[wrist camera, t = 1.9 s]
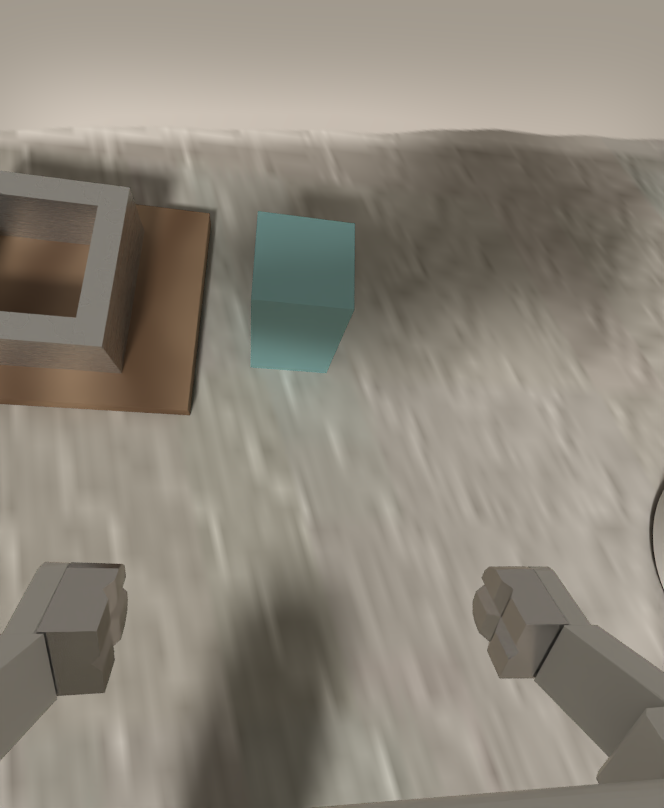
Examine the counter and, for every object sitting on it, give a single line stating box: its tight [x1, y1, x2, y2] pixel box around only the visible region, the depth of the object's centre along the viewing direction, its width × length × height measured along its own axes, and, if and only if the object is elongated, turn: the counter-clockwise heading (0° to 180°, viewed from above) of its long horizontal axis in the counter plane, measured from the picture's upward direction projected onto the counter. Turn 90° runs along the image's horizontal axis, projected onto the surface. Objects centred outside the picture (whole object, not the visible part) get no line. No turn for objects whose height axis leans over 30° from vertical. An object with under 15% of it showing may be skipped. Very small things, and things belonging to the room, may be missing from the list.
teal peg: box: [251, 211, 355, 373], centre depth 28 cm, size 5×5×9 cm
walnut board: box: [0, 204, 211, 415], centre depth 29 cm, size 18×14×1 cm
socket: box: [0, 171, 144, 373], centre depth 27 cm, size 10×10×4 cm
